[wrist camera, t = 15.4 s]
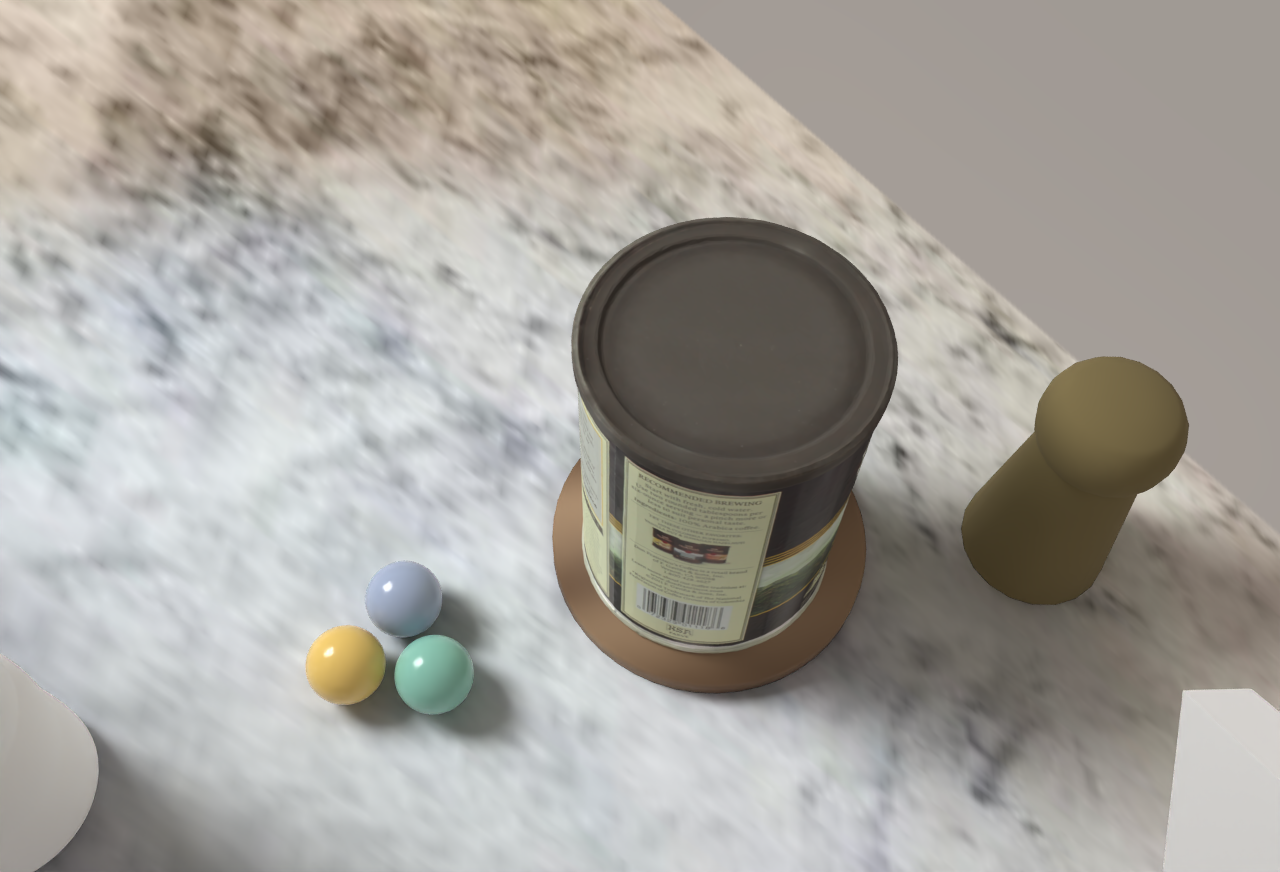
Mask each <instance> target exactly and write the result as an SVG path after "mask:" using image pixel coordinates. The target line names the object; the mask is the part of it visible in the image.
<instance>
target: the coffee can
mask: <svg viewBox="0 0 1280 872" xmlns="http://www.w3.org/2000/svg"><path fill="white" fill-rule="evenodd" d="M571 343H572V363H573V371H574V376H575V381H576V384H577V387H578V406H579V430H580V451H581V477H582V503H583V526H582V549H583V556H584V564H585V567H586V569H587V571H588V574H589V577H590V579H591V582H592V584H593V586H594V588H595V590H596V591H597V593H598V595H599V596H600V598H601V600H602V601H603V602H604V604H605V605H606V606H607V607H608V608H609V610H610V611H611V612H612V613H613V614H614V615H615V616H616V617H617V618H618V619H619V620H620V621H622V622H623V623H624V624H625V625H626V626H628V627H629V628H630V629H632V630H633V631H635V632H636V633H638V634H639V635H640V636H642V637H645V638H647V639H649V640H651V641H654V642H656V643H658V644H661V645H663V646H666V647H670V648H673V649H677V650H681V651H686V652H693V653H725V652H734V651H740V650H743V649H747V648H749V647H752V646H754V645H757V644H760V643H763V642H765V641H767V640H769V639H770V638H772V637H774V636H776V635H778V634H779V633H781V632H782V631H784V630H785V629H786V628H787V627H789V626H790V625H791V624H792V623H793V622H794V621H795V620H797V619H798V618H799V617H800V616H801V614H802V613H803V612H804V611H805V610H806V608H807V607H808V606H809V604H810V603H811V602H812V601H813V599H814V597H815V595H816V594H817V592H818V590H819V587H820V585H821V582H822V579H823V576H824V573H825V569H826V564H827V559H828V556H829V554H830V551H831V548H832V546H833V543H834V539H835V536H836V534H837V531H838V528H839V524H840V522H841V519H842V516H843V513H844V511H845V508H846V505H847V502H848V499H849V496H850V494H851V491H852V488H853V486H854V483H855V480H856V477H857V475H858V472H859V470H860V467H861V464H862V461H863V459H864V456H865V454H866V451H867V448H868V445H869V442H870V439H871V436H872V434H873V431H874V430H875V428H876V427H877V425H878V423H879V421H880V420H881V418H882V416H883V414H884V412H885V410H886V408H887V405H888V403H889V401H890V398H891V395H892V392H893V389H894V386H895V381H896V376H897V368H898V350H897V342H896V338H895V332H894V329H893V326H892V323H891V320H890V318H889V315H888V312H887V310H886V307H885V306H884V304H883V302H882V301H881V299H880V297H879V295H878V293H877V291H876V290H875V289H874V287H873V286H872V285H871V283H870V282H869V281H868V280H867V279H866V277H865V276H864V275H863V274H862V273H861V272H860V271H859V270H858V269H857V268H856V267H855V266H854V265H853V264H852V263H851V262H850V261H848V260H847V259H846V258H845V257H843V256H842V255H841V254H839V253H838V252H836V251H835V250H833V249H832V248H830V247H829V246H827V245H826V244H824V243H822V242H821V241H819V240H817V239H815V238H813V237H811V236H809V235H806V234H804V233H802V232H799V231H797V230H794V229H791V228H788V227H785V226H782V225H778V224H775V223H771V222H767V221H762V220H755V219H748V218H735V217H721V218H704V219H696V220H691V221H686V222H681V223H677V224H674V225H670V226H667V227H664V228H661V229H659V230H656V231H654V232H651V233H649V234H647V235H645V236H643V237H641V238H639V239H637V240H636V241H634V242H632V243H631V244H629V245H628V246H626V247H625V248H623V249H622V250H620V251H619V252H618V253H617V254H615V255H614V256H613V257H612V258H611V259H610V260H609V261H608V262H607V263H606V264H605V265H604V266H603V267H602V268H601V269H600V270H599V272H598V273H597V274H596V275H595V276H594V278H593V279H592V280H591V282H590V284H589V285H588V287H587V289H586V291H585V292H584V294H583V296H582V298H581V301H580V303H579V305H578V308H577V311H576V314H575V318H574V322H573V330H572V340H571Z"/></svg>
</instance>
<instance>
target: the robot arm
mask: <svg viewBox="0 0 1280 872" xmlns="http://www.w3.org/2000/svg"><path fill="white" fill-rule="evenodd" d="M1163 872H1280V712H1279V711H1278V710H1277V709H1275V708H1274V707H1273V706H1272V705H1271V704H1269V703H1268V702H1267V701H1266V700H1265V699H1263V698H1262V697H1261V696H1260V695H1259V694H1257V693H1256V692H1255V691H1254V690H1253V689H1251V688H1249V689H1209V690H1183V694H1182V703H1181V712H1180V721H1179V730H1178V739H1177V748H1176V757H1175V766H1174V775H1173V783H1172V792H1171V801H1170V810H1169V819H1168V828H1167V837H1166V846H1165V855H1164V864H1163Z"/></svg>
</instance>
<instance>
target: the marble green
mask: <svg viewBox="0 0 1280 872" xmlns="http://www.w3.org/2000/svg"><path fill="white" fill-rule="evenodd" d="M394 679H395V685H396V689H397V691H398V694H399V695H400V697H401V698H402V700H403V701H404V702H405V703H406V704H407V705H408V706H409V707H411V708H412V709H414V710H415V711H418V712H420V713H423V714H431V715H435V714H442V713H445V712H448V711H450V710H452V709H454V708H456V707H457V706H458V705H459V704H461V703H462V702H463V701H464V700H465V698H466V697H467V695H468V694H469V692H470V690H471V687H472V684H473V679H474V668H473V663H472V660H471V657H470V655H469V653H468V652H467V650H466V649H465V648H464V647H463V646H462V645H461V644H460V643H459V642H457V641H456V640H454V639H452V638H450V637H447V636H443V635H428V636H424V637H421V638H418V639H416V640H415V641H413V642H412V643H410V644H409V645H408V646H407V647H406V648H405V649H404V650H403V652H402V653H401V655H400V656H399V658H398V660H397V663H396V667H395V673H394Z"/></svg>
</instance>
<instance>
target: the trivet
mask: <svg viewBox="0 0 1280 872" xmlns="http://www.w3.org/2000/svg"><path fill="white" fill-rule="evenodd" d="M582 526H583V503H582V477H581V458H580V459H579V461H578V462H577V463H576V465H575V466H574V467H573V469H572V471H571V473H570V474H569V476H568V478H567V480H566V482H565V483H564V486H563V488H562V491H561V494H560V496H559V499H558V502H557V507H556V511H555V516H554V523H553V536H552V537H553V552H554V565H555V570H556V575H557V579H558V584H559V587H560V589H561V592H562V595H563V597H564V600H565V602H566V604H567V606H568V608H569V610H570V612H571V614H572V615H573V617H574V619H575V621H576V622H577V623H578V625H579V626H580V627H581V629H582V630H583V631H584V633H585V634H586V635H587V636H588V638H589V639H590V640H591V641H592V642H593V643H594V644H595V645H596V646H597V647H598V648H599V649H600V650H601V651H602V652H604V653H605V654H606V655H607V656H609V657H610V658H611V659H612V660H614V661H615V662H616V663H618V664H619V665H621V666H623V667H624V668H626V669H628V670H629V671H631V672H633V673H634V674H636V675H638V676H641V677H643V678H645V679H648V680H650V681H652V682H654V683H658V684H661V685H664V686H668V687H671V688H674V689H680V690H686V691H692V692H701V693H726V692H737V691H743V690H747V689H752V688H756V687H761V686H763V685H766V684H769V683H772V682H774V681H777V680H780V679H782V678H784V677H785V676H787V675H789V674H791V673H793V672H795V671H797V670H799V669H800V668H801V667H803V666H804V665H806V664H807V663H808V662H810V661H811V660H812V659H814V658H815V657H816V656H817V655H818V654H819V653H820V652H821V651H822V650H823V649H824V648H825V647H826V646H828V644H829V643H830V642H831V641H832V639H833V638H834V637H835V636H836V634H837V633H838V632H839V630H840V629H841V627H842V625H843V624H844V622H845V620H846V618H847V617H848V615H849V613H850V611H851V609H852V606H853V604H854V602H855V599H856V597H857V594H858V591H859V589H860V586H861V582H862V578H863V573H864V569H865V557H866V541H865V530H864V525H863V521H862V516H861V512H860V509H859V506H858V504H857V501H856V498H855V496H854V494H853V492H852V491H851V494H850V496H849V499H848V502H847V505H846V508H845V511H844V513H843V516H842V519H841V522H840V524H839V528H838V531H837V534H836V536H835V539H834V543H833V546H832V548H831V551H830V554H829V556H828V559H827V564H826V569H825V573H824V576H823V579H822V582H821V585H820V587H819V590H818V592H817V594H816V595H815V597H814V599H813V601H812V602H811V603H810V604H809V606H808V607H807V608H806V610H805V611H804V612H803V613H802V614H801V616H800V617H799V618H798V619H797V620H795V621H794V622H793V623H792V624H791V625H790V626H789V627H787V628H786V629H785V630H784V631H782V632H781V633H779V634H778V635H776V636H774V637H772V638H770V639H769V640H767V641H765V642H763V643H760V644H757V645H754V646H752V647H749V648H747V649H743V650H740V651H734V652H725V653H693V652H686V651H681V650H677V649H673V648H670V647H666V646H663V645H661V644H658V643H656V642H654V641H651V640H649V639H647V638H645V637H642V636H640V635H639V634H638V633H636V632H635V631H633V630H632V629H630V628H629V627H628V626H626V625H625V624H624V623H623V622H622V621H620V620H619V619H618V618H617V617H616V616H615V615H614V614H613V613H612V612H611V611H610V610H609V608H608V607H607V606H606V605H605V604H604V602H603V601H602V600H601V598H600V596H599V595H598V593H597V591H596V590H595V588H594V586H593V584H592V582H591V579H590V577H589V574H588V571H587V569H586V567H585V564H584V556H583V549H582Z"/></svg>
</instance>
